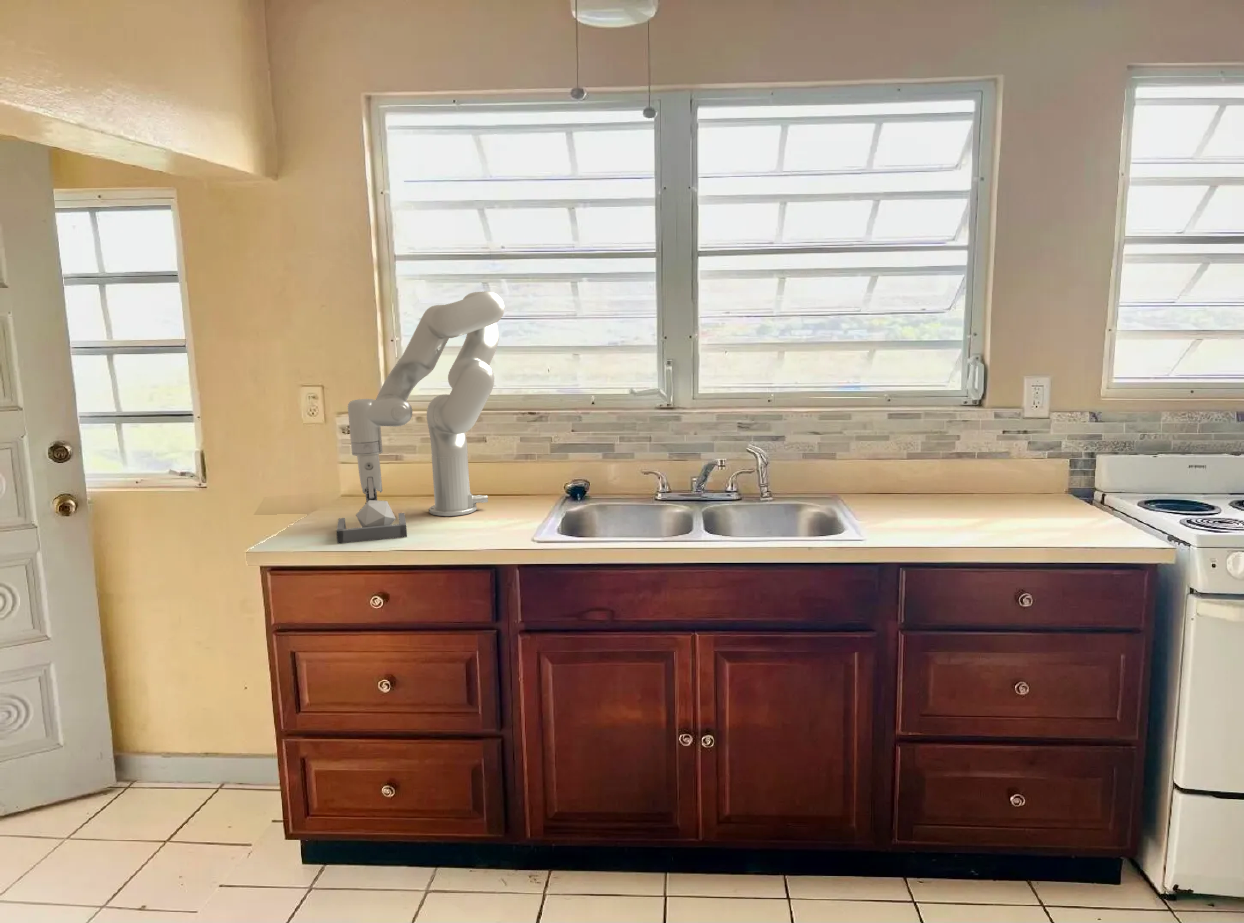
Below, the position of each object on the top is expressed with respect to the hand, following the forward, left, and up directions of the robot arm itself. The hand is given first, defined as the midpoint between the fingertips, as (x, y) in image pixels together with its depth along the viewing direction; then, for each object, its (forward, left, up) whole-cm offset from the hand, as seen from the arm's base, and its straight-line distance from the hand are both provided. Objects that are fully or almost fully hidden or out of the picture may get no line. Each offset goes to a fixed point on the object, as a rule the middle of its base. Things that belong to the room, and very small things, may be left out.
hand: (373, 517), depth 217 cm
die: (-1, +10, -2) cm, 10 cm away
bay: (0, +11, -1) cm, 11 cm away
